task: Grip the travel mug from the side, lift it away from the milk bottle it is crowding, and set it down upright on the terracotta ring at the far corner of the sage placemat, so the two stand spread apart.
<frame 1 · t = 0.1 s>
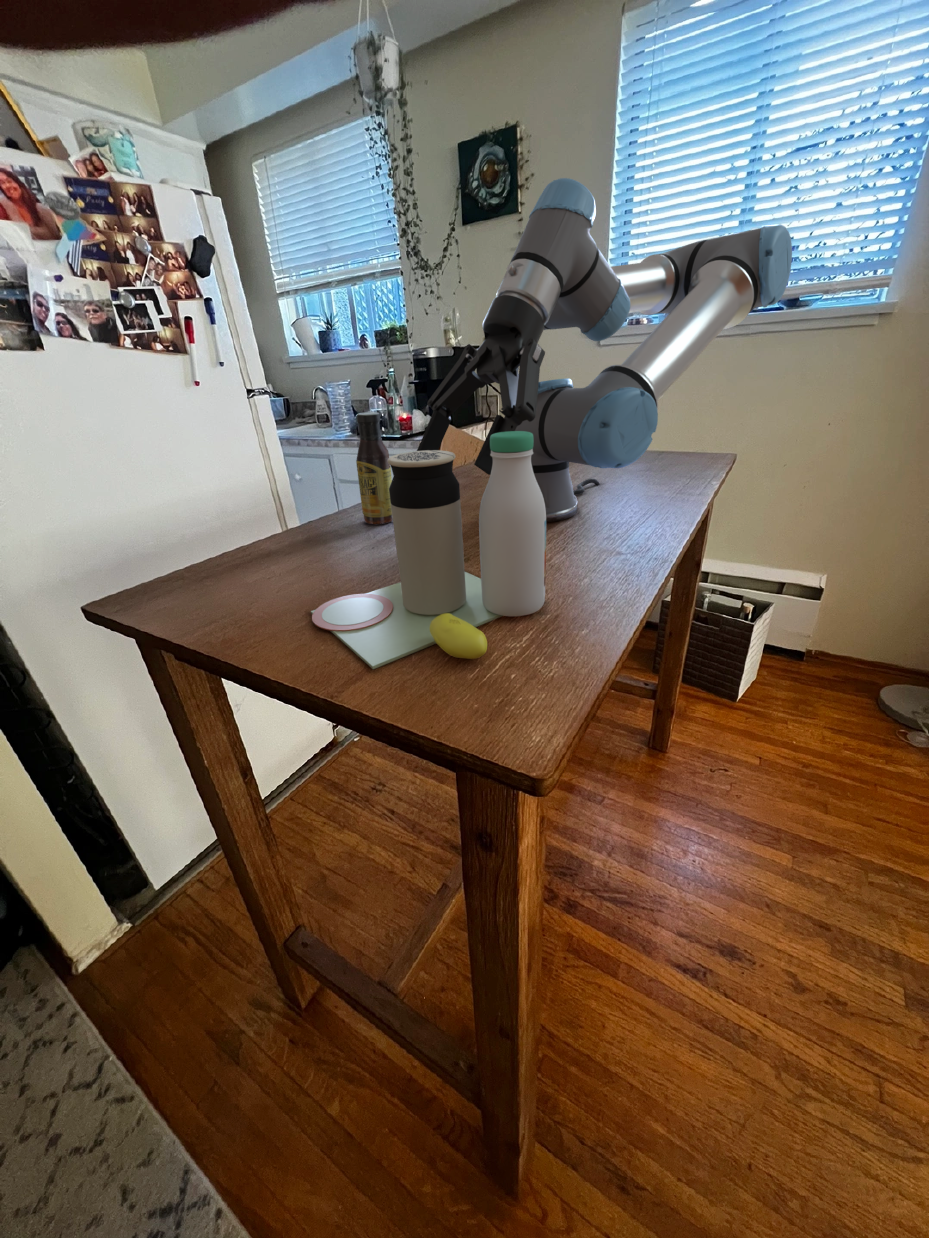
hand: (451, 464, 67), 15 cm above the table, tool tilted 35°, fingers open, 13 cm apart
travel mug: (435, 604, 64), resting on placemat
sauce bottle: (380, 522, 99), on the table
lemon: (457, 653, 53), on the table, touching placemat
placemat: (419, 609, 63), on the table
milk bottle: (513, 605, 62), on the table, touching placemat
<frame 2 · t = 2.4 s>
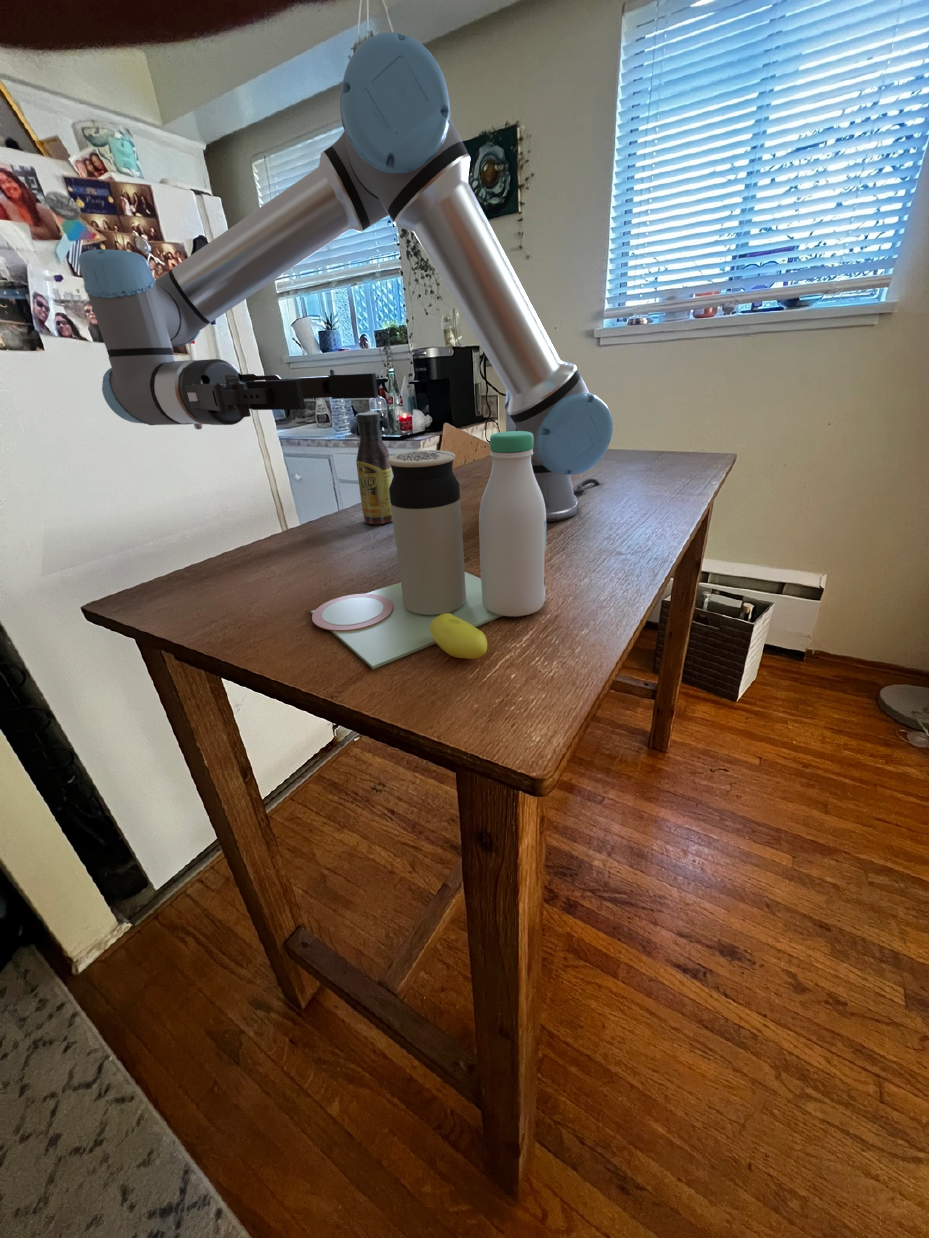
hand: (341, 389, 56), 25 cm above the table, tool horizontal, fingers open, 13 cm apart
nothing on the table moved.
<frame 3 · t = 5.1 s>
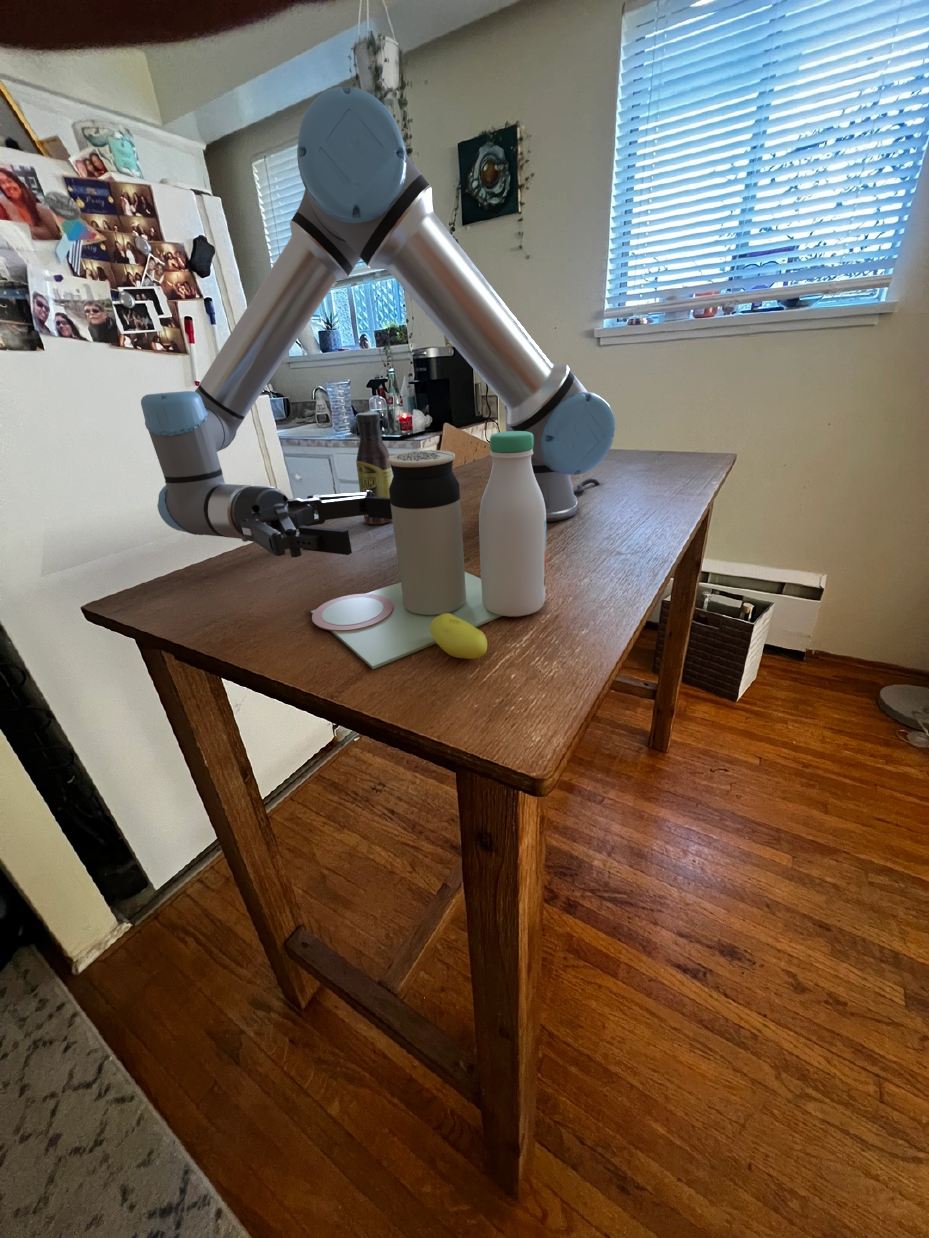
hand: (381, 524, 61), 10 cm above the table, tool horizontal, fingers open, 13 cm apart
nothing on the table moved.
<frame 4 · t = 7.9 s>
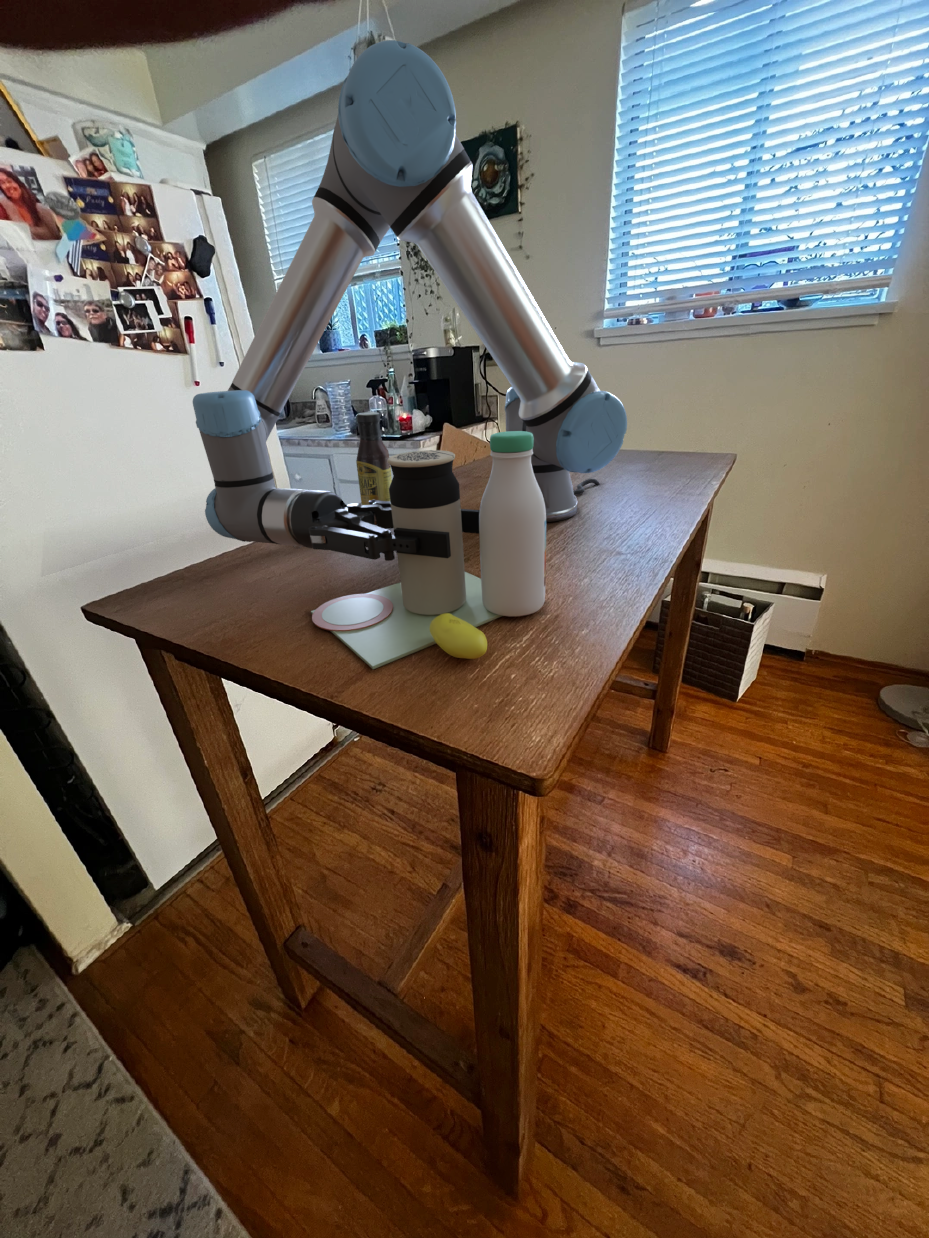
hand: (465, 533, 57), 10 cm above the table, tool horizontal, fingers closed on travel mug, 8 cm apart
travel mug: (435, 604, 64), resting on placemat, touching gripper
everything else where it was.
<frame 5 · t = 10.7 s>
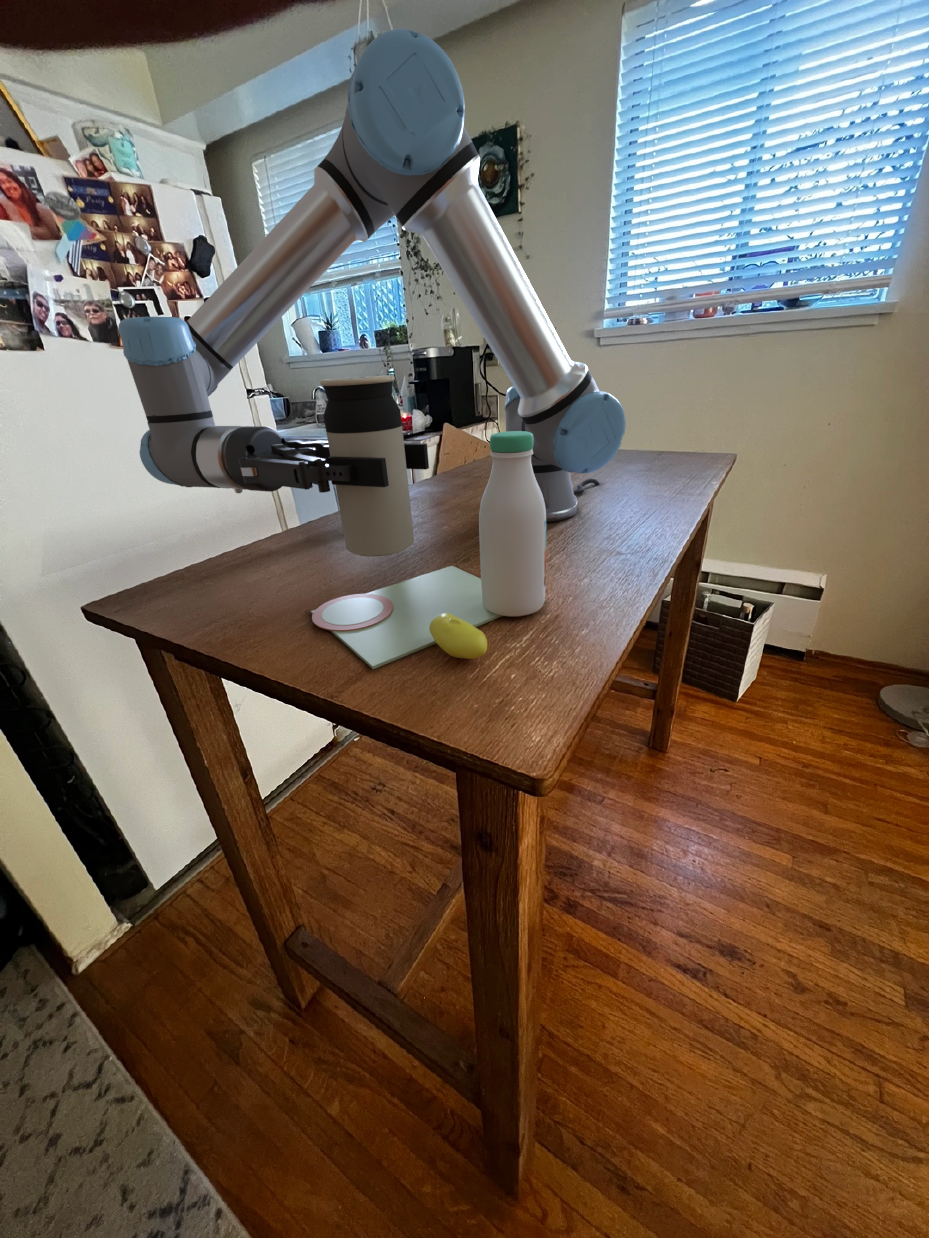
hand: (406, 464, 53), 18 cm above the table, tool horizontal, fingers closed on travel mug, 8 cm apart
travel mug: (381, 547, 59), point 8 cm above the table, touching gripper
everything else where it was.
when the fingers open (10 cm above the table, at t = 14.0 s): travel mug stays where it is, resting on placemat.
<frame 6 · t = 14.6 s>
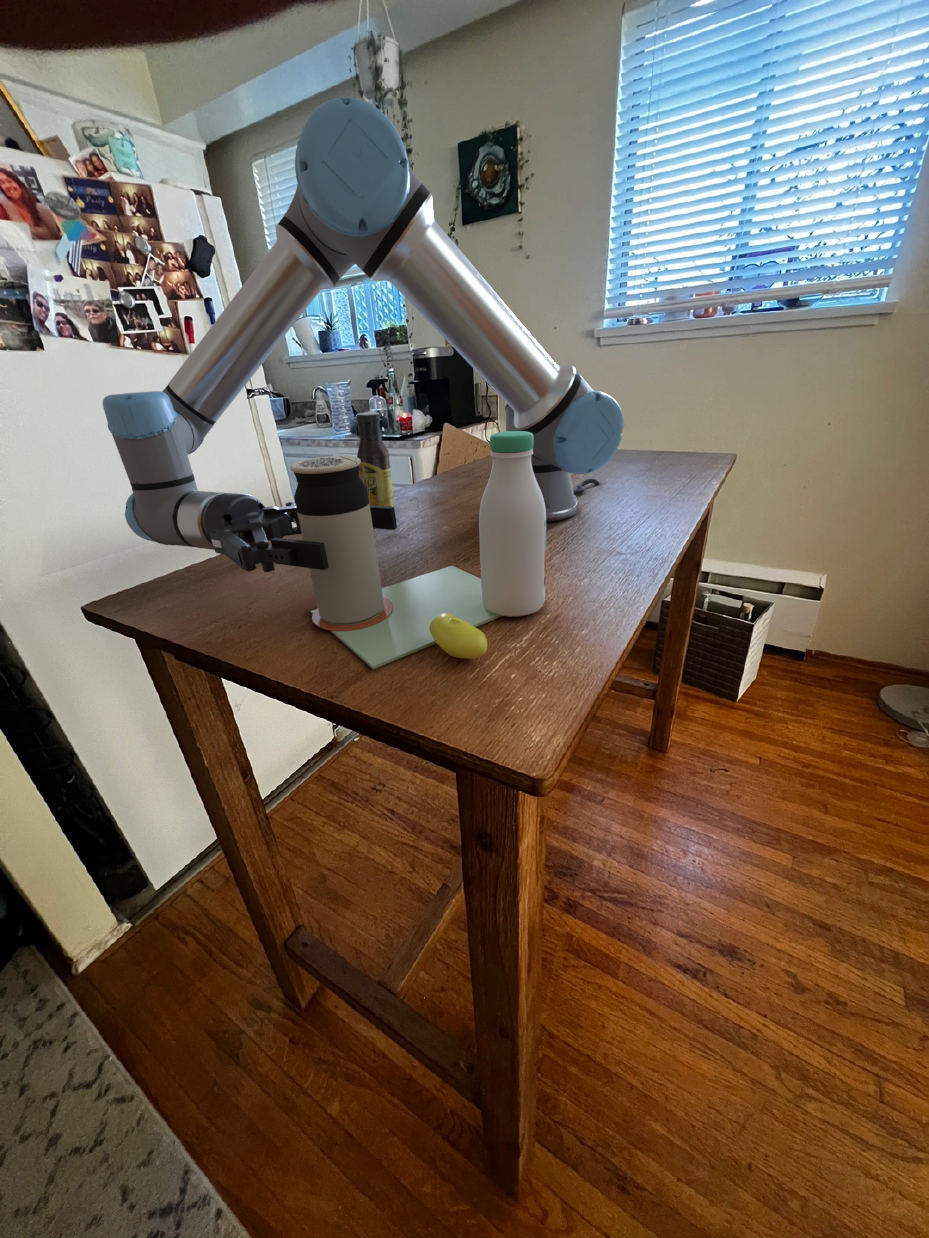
hand: (362, 535, 57), 11 cm above the table, tool horizontal, fingers open, 13 cm apart
travel mug: (352, 611, 63), resting on placemat
everything else where it was.
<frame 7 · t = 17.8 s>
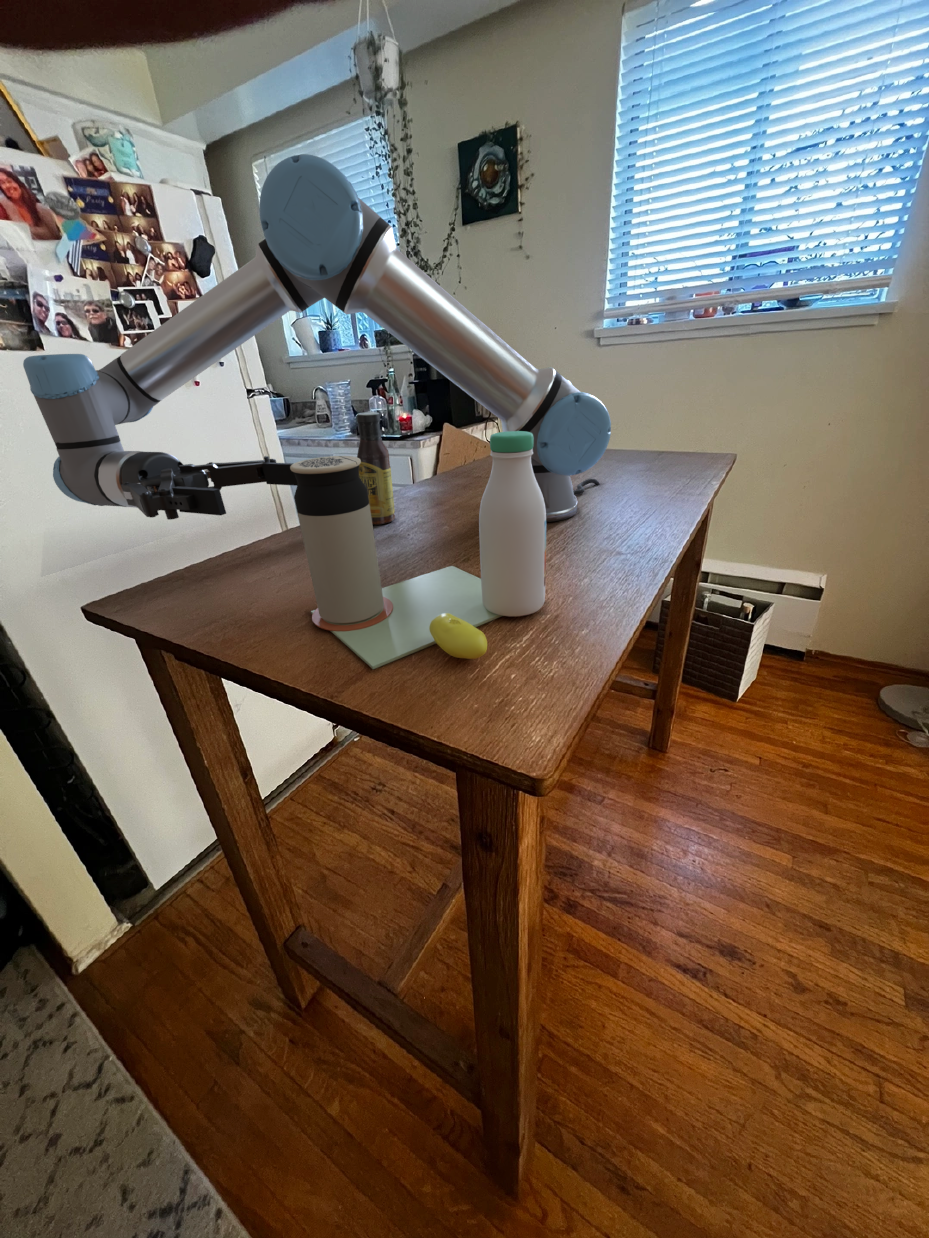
hand: (266, 487, 59), 15 cm above the table, tool horizontal, fingers open, 13 cm apart
nothing on the table moved.
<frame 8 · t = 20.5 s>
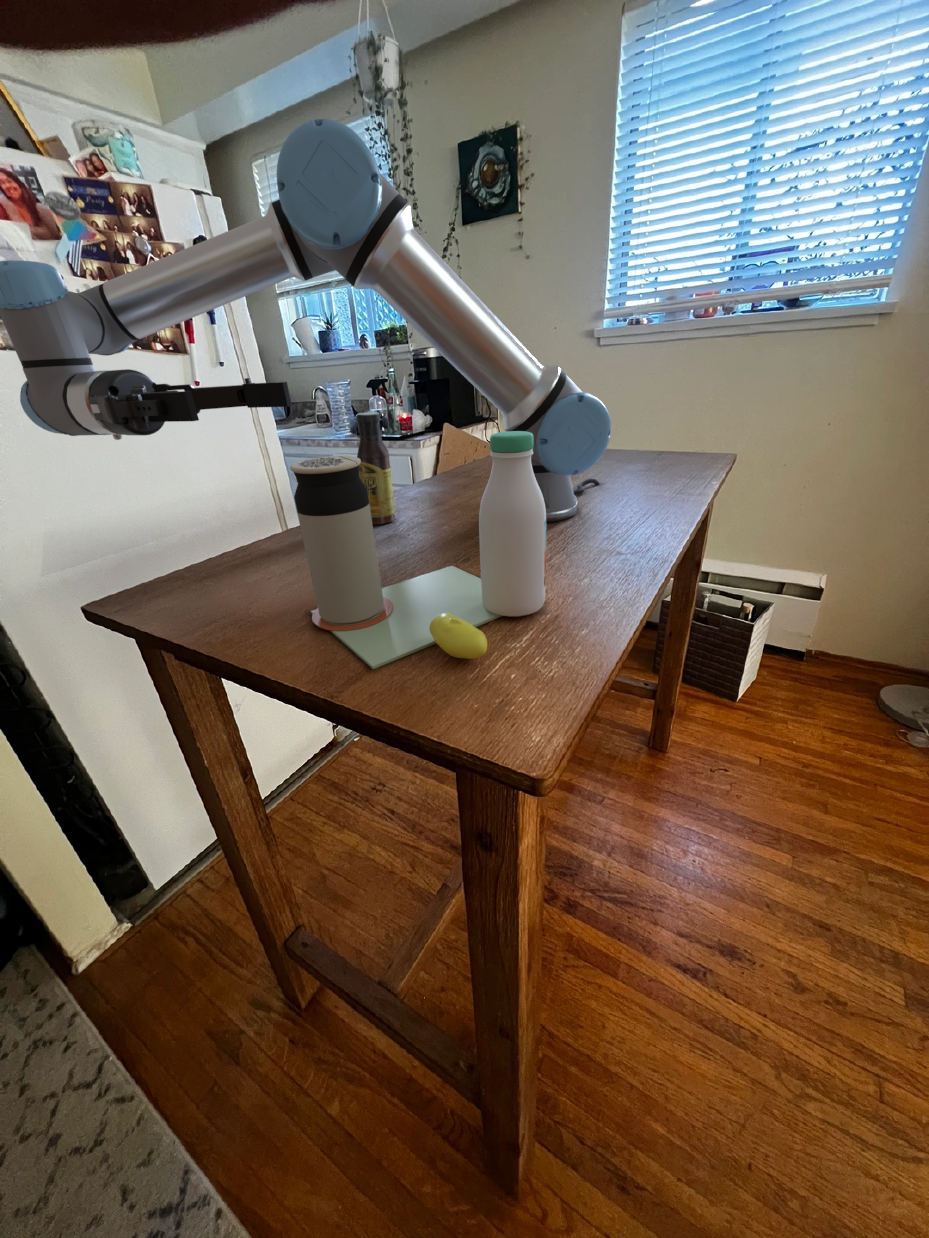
hand: (244, 399, 55), 25 cm above the table, tool horizontal, fingers open, 13 cm apart
nothing on the table moved.
at the end: travel mug 0.1 cm from the target spot, resting on placemat; travel mug tilted 0°; milk bottle moved 0.2 cm from its start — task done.
